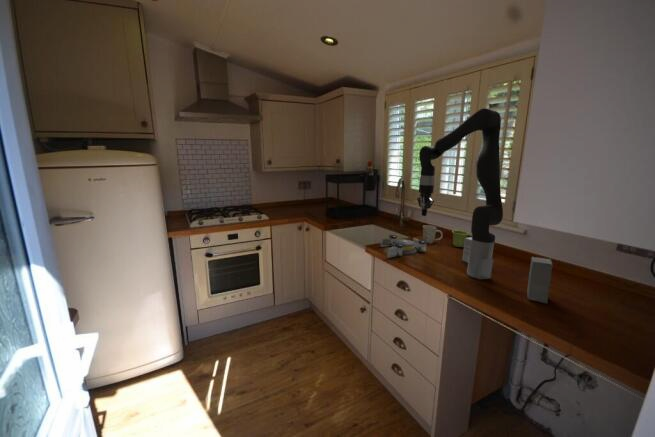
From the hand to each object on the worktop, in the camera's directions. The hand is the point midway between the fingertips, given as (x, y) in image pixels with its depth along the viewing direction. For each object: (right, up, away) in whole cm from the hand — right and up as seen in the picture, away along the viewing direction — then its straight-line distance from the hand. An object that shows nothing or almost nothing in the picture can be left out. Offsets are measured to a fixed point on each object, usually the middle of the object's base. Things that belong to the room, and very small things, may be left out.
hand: (423, 215), depth 162 cm
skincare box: (+30, -33, -45) cm, 63 cm away
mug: (+13, -17, +26) cm, 34 cm away
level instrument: (-9, -20, +7) cm, 23 cm away
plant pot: (+28, -19, +20) cm, 39 cm away
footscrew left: (-17, -22, -3) cm, 28 cm away
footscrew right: (0, -20, +10) cm, 22 cm away
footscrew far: (-16, -18, +14) cm, 28 cm away
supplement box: (+23, -25, -7) cm, 35 cm away
